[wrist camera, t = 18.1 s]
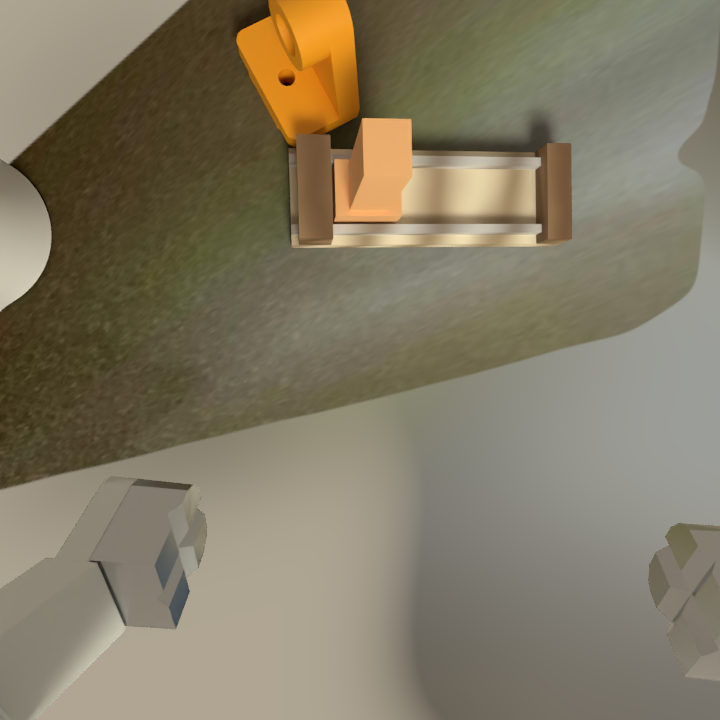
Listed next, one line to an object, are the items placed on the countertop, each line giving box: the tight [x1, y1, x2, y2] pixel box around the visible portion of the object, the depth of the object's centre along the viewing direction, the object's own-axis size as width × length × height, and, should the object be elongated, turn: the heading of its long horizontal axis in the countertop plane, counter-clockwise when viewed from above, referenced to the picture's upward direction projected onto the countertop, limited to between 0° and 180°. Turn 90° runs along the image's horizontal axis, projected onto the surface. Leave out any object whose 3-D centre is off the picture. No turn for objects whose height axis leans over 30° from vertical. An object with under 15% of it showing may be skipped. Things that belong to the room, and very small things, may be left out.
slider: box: [332, 118, 412, 223], centre depth 43 cm, size 6×5×13 cm
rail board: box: [289, 134, 572, 248], centre depth 50 cm, size 27×9×5 cm, turn 92°
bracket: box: [237, 0, 360, 147], centre depth 45 cm, size 11×7×12 cm
